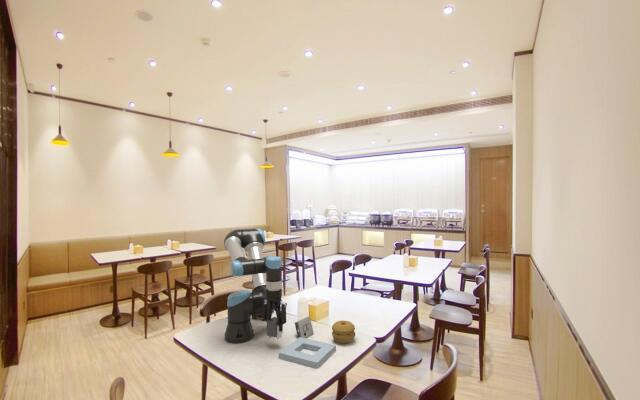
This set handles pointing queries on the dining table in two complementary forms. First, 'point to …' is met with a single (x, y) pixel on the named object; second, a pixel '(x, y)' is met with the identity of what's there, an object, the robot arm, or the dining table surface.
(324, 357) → the socket plate
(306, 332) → the electrical switch
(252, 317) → the kendama
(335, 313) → the dining table surface
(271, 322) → the plug
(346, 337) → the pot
